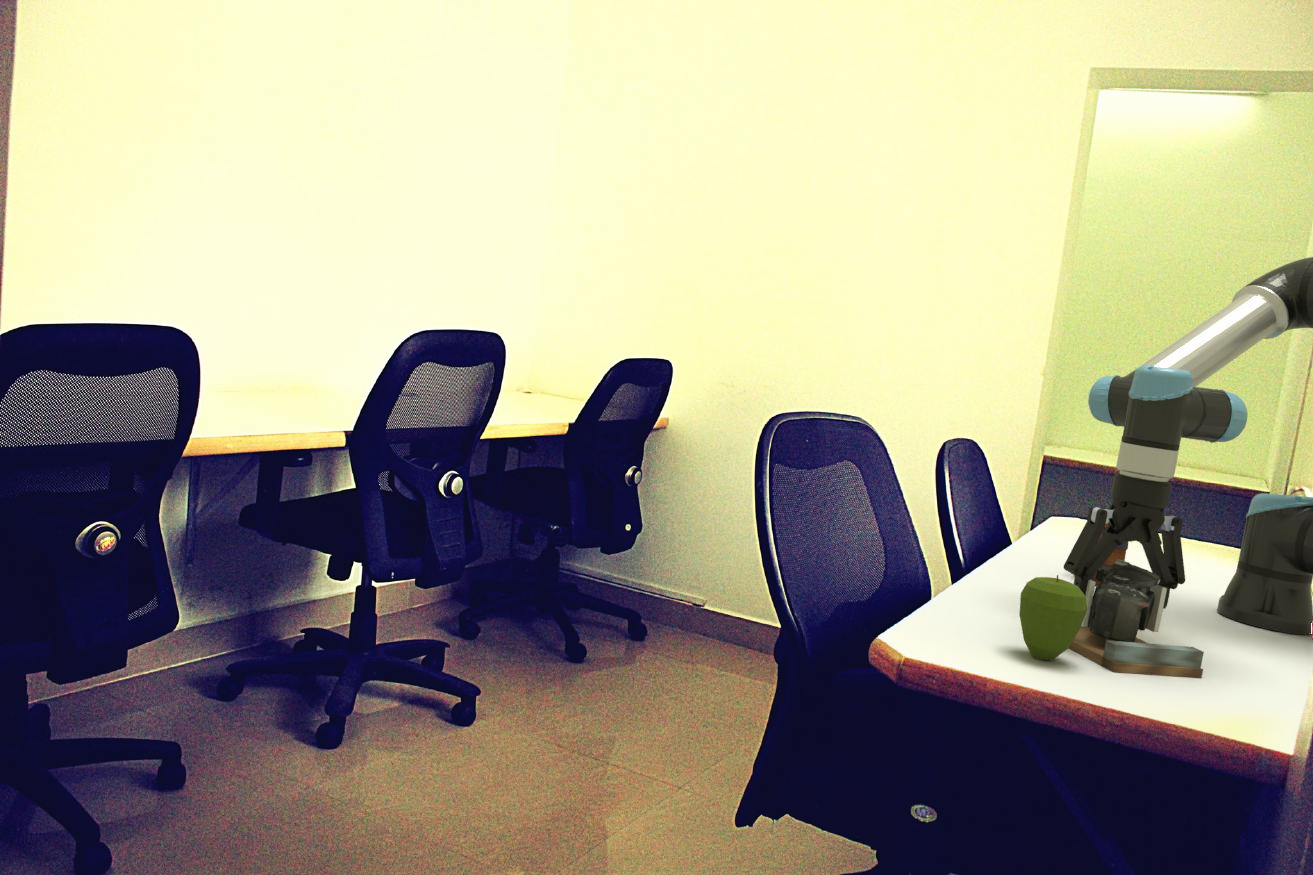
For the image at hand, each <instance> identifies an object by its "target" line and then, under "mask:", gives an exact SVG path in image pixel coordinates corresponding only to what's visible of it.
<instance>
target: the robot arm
mask: <svg viewBox="0 0 1313 875" xmlns="http://www.w3.org/2000/svg"><path fill="white" fill-rule="evenodd" d="M1295 329H1313V256H1311V257H1310V256H1309V257H1304V258H1301V259H1297V260H1294V261H1291V262H1288V263H1286V264H1284V265H1281V266H1279V267H1277V268H1274V269H1272V270H1270V271H1268V272H1267V273H1264V274H1263V275H1261V276H1259V277H1257V278H1255V279H1254V280H1252V281H1251V282H1249V283H1247V285H1245V286H1243V287H1242V288H1240V289H1239V290H1238V291H1237V292H1235V294H1234V296H1233V298H1232V300H1231V303H1230V304H1228V305H1226V306H1225V307H1224V308H1223V309H1221V310H1219V311H1218V312H1217V313H1215V314H1213V315H1212V316H1211V317H1209V318H1208V319H1207V320H1205V321H1204V322H1202V323H1200V324H1199V325H1197V326H1196V327H1195V328H1193V329H1192V330H1190V331H1189V332H1188V333H1186V334H1184V335H1183V336H1182V337H1180V338H1179V339H1177V340H1176V341H1175V342H1174V343H1172V344H1170V345H1169V346H1167V347H1166V348H1165V349H1163V350H1161V351H1160V352H1159V353H1157V354H1156V355H1154V356H1153V357H1152V358H1150V359H1148V360H1147V361H1145V362H1144V363H1143V364H1141V365H1139V366H1138V367H1137V368H1136V369H1134V370H1133V371H1131V372H1129V373H1128V374H1127V375H1124V376H1121V375H1105V376H1102V377H1100V378H1098V379H1097V380H1096V381H1095V382H1094V383H1093V385H1092V386H1091V388H1090V391H1089V392H1088V393H1089V394H1088V399H1087V400H1088V403H1087V405H1088V406H1089V412H1090V414H1091V416H1092V417H1093V418H1094V419H1095V420H1096V421H1099V422H1101V423H1105V424H1109V425H1113V426H1115V427H1122V428H1123V432H1122V436H1121V438H1120V439H1121V440H1120V444H1119V449H1118V455H1117V460H1116V465H1115V468H1117V470H1118V471H1119V472H1118V473H1115V474H1114V476H1113V481H1112V486H1111V491H1110V497H1111V504H1110V506H1109V507H1108V509H1105V508H1101V507H1097V506H1094V505H1093V506H1090V507H1089V509H1088V513H1087V520H1086V522H1085V524H1084V527H1083V528H1082V530H1081V532H1080V534H1079V536H1078V537H1077V540H1075V543H1074V545H1073V547H1072V549H1071V551H1070V552H1069V554H1068V557H1067V559H1066V560H1065V562H1064V564H1063V570H1064V571H1066V572H1068V573H1070V574H1071V575H1073V577H1074V580H1073V584H1075V585H1076V586H1078V587H1079V588H1080V590H1081V591H1082V592H1083V593H1084V595H1085V596H1086V603H1087V609H1088V610H1087V612H1086V615H1085V617H1084V620H1083V623H1082V625H1081V626H1082V627H1087V625H1088V620H1089V615H1090V607H1091V604H1092V599H1093V595H1094V591H1095V589H1096V586H1095V583H1096V582H1094V581H1092V580H1090V579H1091V578H1092V577H1093V576H1094V574H1095V573H1096V572H1097V571H1098V569H1099V568H1100V567H1101V566H1102V565H1103V563H1104V562H1105V561H1106V560H1107V559H1108V557H1109V556H1110V555H1111V554H1112V553H1113V551H1114V550H1115V549H1116V548H1117V546H1119V545H1121V544H1123V543H1124V542H1125V541H1129V542H1130V543H1132V542H1137V543H1139V544H1140V545H1142V548H1143V552H1144V555H1145V557H1146V559H1147V562H1148V566H1149V567H1150V570H1151V571H1150V572H1152V573H1154V574H1156V575H1158V576H1159V577H1160V582H1159V584H1158V585H1155V586H1152V587H1151V588H1150V591H1152V592H1154V593H1155V599H1154V604H1153V607H1152V612H1151V615H1150V618H1149V622H1148V625H1147V627H1146V629H1145V630H1148V631H1151V632H1152V633H1159V632H1160V631H1159V630H1160V625H1161V621H1162V620H1161V619H1162V616H1163V610H1164V609H1165V610H1166V608H1167V606H1168V601H1169V598H1170V592H1171V590H1176V589H1177V588H1178V586H1179V584H1180V585H1184V583H1186V574H1185V572H1186V571H1185V565H1184V556H1183V554H1184V553H1183V547H1182V546H1183V545H1182V538H1181V532H1182V526H1183V522H1184V521H1183V519H1182V518H1181V517H1178V516H1175V515H1172V514H1168V513H1167V514H1164V510H1165V509H1166V508H1167V507H1168V506H1169V503H1170V498H1171V493H1172V489H1173V488H1172V487H1173V485H1172V483H1171V482H1170V481H1169V480H1170V479H1173V478H1175V473H1176V469H1177V468H1176V467H1177V463H1178V457H1179V451H1180V445H1181V441H1182V439H1188V440H1196V441H1204V442H1209V443H1211V444H1213V443H1225V442H1226V443H1227V442H1230V441H1232V440H1235V439H1237V437H1239V436H1240V435H1241V434H1242V432H1243V430H1245V428H1246V425H1247V422H1248V416H1249V415H1248V414H1249V413H1248V409H1247V408H1248V407H1247V406H1246V403H1245V402H1244V400H1243V399H1242V398H1241V397H1240V396H1238V395H1237V394H1235V393H1233V392H1230V391H1226V390H1224V389H1217V388H1207V387H1199V386H1200V385H1201V383H1203V382H1205V381H1206V380H1208V379H1209V378H1210V377H1212V376H1213V375H1214V374H1216V373H1217V372H1218V371H1220V370H1221V369H1223V368H1224V367H1225V366H1226V367H1227V365H1229V364H1230V363H1232V361H1235V359H1237V358H1238V357H1239V356H1241V355H1243V354H1244V353H1245V352H1248V350H1250V349H1251V348H1252V347H1254V346H1255V345H1257V344H1258V343H1259V342H1261V341H1262V340H1264V339H1265V340H1268V339H1269V340H1271V339H1274V338H1277V337H1279V336H1280V335H1282V334H1283V333H1284V332H1286V331H1290V330H1295ZM1245 518H1246V520H1245V526H1244V530H1243V534H1242V535H1243V537H1242V540H1241V545H1240V546H1241V547H1240V550H1239V551H1240V552H1239V557H1238V560H1237V565H1236V570H1235V573H1234V575H1233V577H1232V578H1231V580H1230V581H1229V584H1227V587H1226V589H1225V591H1224V594H1222V595H1221V596H1220V597H1219V600H1218V603H1217V607H1216V612H1218V613H1219V614H1221V615H1222V616H1225V617H1227V618H1229V619H1231V620H1234V621H1237V622H1241V623H1243V624H1247V625H1249V626H1253V627H1258V628H1262V629H1266V630H1271V631H1276V632H1281V633H1287V634H1293V635H1294V634H1295V635H1312V634H1311V623H1312V621H1313V597H1312V596H1313V595H1312V584H1313V497H1312V496H1298V495H1288V494H1275V493H1263V492H1261V493H1258V494H1255V495H1254V496H1253V497H1252V499H1251V502H1250V504H1249V509H1248V512H1247V513H1246V516H1245ZM1108 522H1110V524H1109V525H1108V526H1107V527H1106V529H1105V530H1104V527H1105V524H1107V523H1108ZM1159 529H1161V532H1160V534H1161V537H1160V534H1159V531H1158V530H1159ZM1103 530H1104V531H1103ZM1101 534H1102V537H1101V538H1100V536H1101ZM1114 534H1115V535H1114ZM1099 538H1100V539H1099ZM1098 540H1099V541H1098ZM1097 541H1098V542H1097Z"/></svg>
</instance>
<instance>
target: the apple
mask: <svg viewBox="0 0 1313 875" xmlns="http://www.w3.org/2000/svg"><path fill="white" fill-rule="evenodd" d="M1019 601H1020V602H1019V619H1020V626H1021V630H1022V636H1023V641H1024V643H1025V645H1026V647H1027V649H1028V651H1029V653H1030V655H1031V657H1032V658H1034V659H1036V660H1040V661H1041V660H1042V661H1051V660H1054V659H1056V658H1058V657H1059V656H1060V655H1062V654H1063V653H1064V652H1066V651H1067V650H1068V649H1070V648H1069V646H1070V644H1071V643H1072V641H1073V640H1074V638H1075V636H1076V635H1077V633H1078V631H1079V630H1080V628H1081V625H1082V623H1083V620H1084V617H1085V615H1086V612H1087V610H1088V609H1087V603H1086V596H1085V595H1084V593H1083V592H1082V591H1081V590H1080V588H1079V587H1078V586H1076V585H1075V584H1074V583H1073V582H1070V581H1067V580H1064V579H1061V578H1059V574H1057V575H1056V577H1050V576H1049V577H1048V576H1039V577H1038V576H1037V577H1036V576H1035V577H1034V578H1032V579H1030V580H1029V581H1027V582H1026V583H1025V585H1024V586H1023V589H1022V591H1021V592H1020V600H1019Z"/></svg>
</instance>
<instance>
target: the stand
mask: <svg viewBox="0 0 1313 875" xmlns="http://www.w3.org/2000/svg"><path fill="white" fill-rule="evenodd" d="M1068 649H1069V650H1072V651H1074V652H1075V653H1077V654H1079V655H1081V656H1083V657H1084V658H1085V659H1086V658H1087V659H1089V660H1090V661H1092V662H1094V663H1096V664H1098V665H1099V666H1101V667H1103V668H1105V669H1107V670H1108V671H1111V672H1113V673H1124V674H1141V675H1150V676H1151V675H1152V676H1153V675H1154V676H1167V677H1169V676H1170V677H1184V678H1185V677H1186V678H1199V679H1201V678H1203V672H1204V669H1203V668H1201V667H1202V664H1203V657H1204V655H1205V654H1204V653H1205V651H1203V650H1201V649H1199V648H1196V647H1194V646H1185V645H1174V644H1172V645H1170V644H1160V643H1159V644H1157V643H1148V642H1146V641H1145V640H1143V639H1140V638H1139V637H1136V639H1135V641H1134V642H1121V641H1114V640H1110V639H1107V638H1103V637H1100V636H1098V635H1095V634H1093V633H1092V632H1091V631H1090V629H1089V627H1082V626H1081V628H1080V630H1079V631H1078V633H1077V635H1076V636H1075V638H1074V640H1073V641H1072V643H1071V644H1070V646H1069V648H1068Z"/></svg>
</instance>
